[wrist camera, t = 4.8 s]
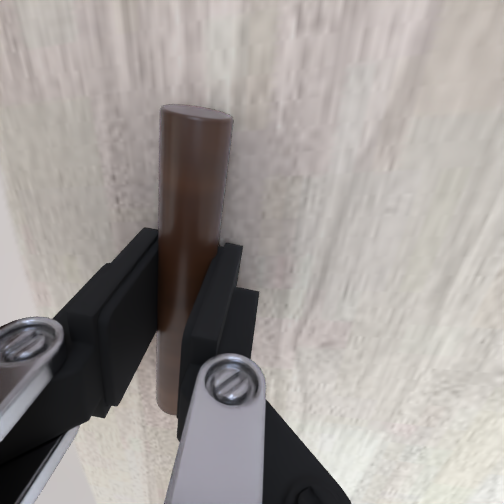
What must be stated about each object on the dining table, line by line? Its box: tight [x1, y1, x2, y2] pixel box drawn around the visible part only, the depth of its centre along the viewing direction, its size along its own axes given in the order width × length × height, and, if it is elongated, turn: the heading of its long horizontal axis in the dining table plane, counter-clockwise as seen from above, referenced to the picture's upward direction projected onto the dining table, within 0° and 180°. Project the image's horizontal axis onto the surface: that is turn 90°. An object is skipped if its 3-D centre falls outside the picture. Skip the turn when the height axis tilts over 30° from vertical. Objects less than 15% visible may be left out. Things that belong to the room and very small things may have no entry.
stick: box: [156, 104, 233, 415], centre depth 9 cm, size 10×2×2 cm, turn 171°
